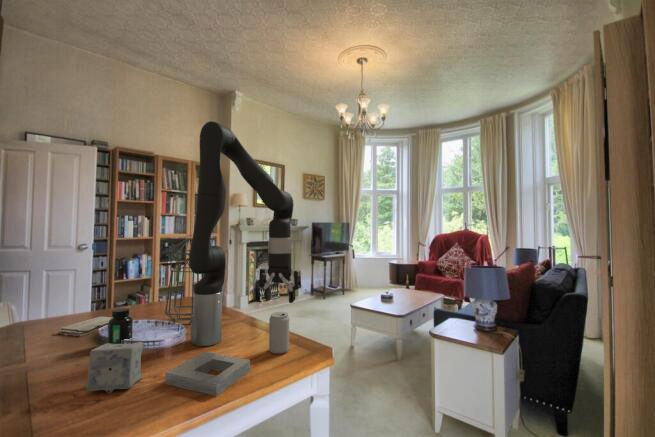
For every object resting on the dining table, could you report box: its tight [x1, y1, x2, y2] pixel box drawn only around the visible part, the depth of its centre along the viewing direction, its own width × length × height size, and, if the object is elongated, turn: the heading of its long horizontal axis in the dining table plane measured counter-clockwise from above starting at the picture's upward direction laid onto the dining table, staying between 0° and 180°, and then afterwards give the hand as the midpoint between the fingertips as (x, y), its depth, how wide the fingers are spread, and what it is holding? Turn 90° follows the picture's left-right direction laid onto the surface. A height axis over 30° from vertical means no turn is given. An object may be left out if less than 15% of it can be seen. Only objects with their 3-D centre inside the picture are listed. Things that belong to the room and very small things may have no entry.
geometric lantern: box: [163, 237, 205, 326], centre depth 132 cm, size 16×16×35 cm
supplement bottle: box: [107, 307, 134, 344], centre depth 106 cm, size 7×7×12 cm
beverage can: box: [268, 311, 290, 355], centre depth 102 cm, size 6×6×12 cm
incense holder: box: [85, 341, 144, 394], centre depth 80 cm, size 10×8×10 cm
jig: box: [165, 351, 251, 397], centre depth 85 cm, size 16×14×3 cm
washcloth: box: [58, 316, 113, 338], centre depth 122 cm, size 12×18×3 cm, turn 167°
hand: (279, 301), depth 102 cm, fingers open, 8 cm apart
